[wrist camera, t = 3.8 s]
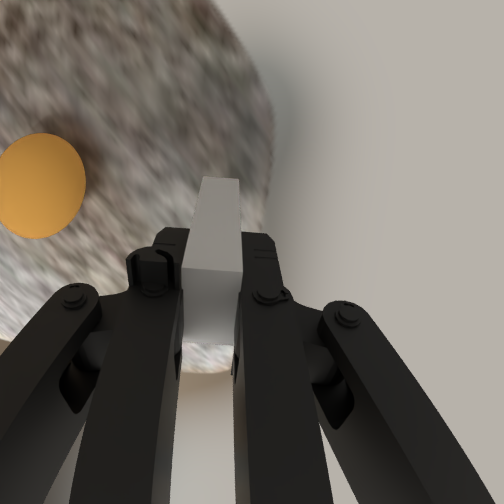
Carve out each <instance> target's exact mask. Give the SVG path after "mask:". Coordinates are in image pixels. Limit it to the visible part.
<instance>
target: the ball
mask: <svg viewBox="0 0 504 504" xmlns="http://www.w3.org/2000/svg"><path fill="white" fill-rule="evenodd" d="M85 187H86V177H85V170H84V166H83V163H82V161H81V158H80V156H79V155H78V153H77V152H76V150H75V149H74V148H73V147H72V146H71V145H70V144H69V143H68V142H67V141H65V140H64V139H62V138H60V137H58V136H56V135H53V134H47V133H36V134H30V135H27V136H25V137H22V138H20V139H19V140H17V141H15V142H14V143H13V144H11V145H10V146H9V147H8V148H7V149H6V150H5V151H4V153H3V154H2V155H1V157H0V221H1V222H2V224H3V225H4V226H5V227H6V228H7V229H9V230H10V231H11V232H13V233H14V234H17V235H19V236H21V237H25V238H31V239H39V238H45V237H49V236H51V235H54V234H56V233H58V232H59V231H61V230H62V229H63V228H65V227H66V226H67V225H68V224H69V223H70V222H71V221H72V220H73V218H74V217H75V215H76V214H77V212H78V211H79V209H80V206H81V204H82V201H83V198H84V194H85Z"/></svg>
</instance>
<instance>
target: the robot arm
mask: <svg viewBox="0 0 504 504" xmlns="http://www.w3.org/2000/svg"><path fill="white" fill-rule="evenodd" d="M126 266H127V274H128V282H129V288H128V290H127V291H125V292H122V293H118V294H113V295H106V296H99V294H98V292H97V291H96V289H95V288H94V287H92V286H91V285H89V284H85V283H73V284H69V285H66V286H64V287H62V288H60V289H59V290H58V291H57V292H55V293H54V294H53V295H52V297H51V298H50V299H49V300H48V301H47V302H46V303H45V304H44V305H43V306H42V307H41V309H40V310H39V311H38V312H37V313H36V314H35V315H34V316H33V318H32V319H31V320H30V321H29V322H28V323H27V324H26V326H25V327H24V328H23V329H22V330H21V331H20V333H19V334H18V335H17V336H16V337H15V338H14V340H13V341H12V342H11V343H10V345H9V346H8V347H7V348H6V349H5V351H4V352H3V353H2V355H1V356H0V504H43V503H44V500H45V498H46V496H47V494H48V492H49V490H50V488H51V486H52V484H53V482H54V480H55V478H56V476H57V474H58V472H59V470H60V468H61V466H62V464H63V462H64V461H65V459H66V457H67V455H68V453H69V451H70V449H71V447H72V445H73V444H74V442H75V440H76V438H77V436H78V434H79V432H80V431H81V429H82V427H83V425H84V423H85V422H86V424H85V428H84V432H83V436H82V440H81V444H80V449H79V453H78V458H77V463H76V468H75V473H74V478H73V483H72V488H71V494H70V500H69V504H169V503H170V486H171V469H172V456H173V455H172V454H173V443H174V431H175V420H176V408H177V399H178V390H179V380H180V371H181V363H182V339H183V342H188V343H201V344H215V345H232V346H234V354H233V361H232V369H231V375H233V417H234V460H235V493H236V504H334V503H333V497H332V491H331V485H330V480H329V474H328V468H327V463H326V457H325V452H324V446H323V441H322V436H321V430H320V425H321V427H322V429H323V431H324V434H325V436H326V438H327V440H328V442H329V444H330V446H331V448H332V450H333V452H334V454H335V456H336V458H337V460H338V462H339V464H340V466H341V469H342V470H343V473H344V475H345V477H346V479H347V481H348V483H349V485H350V487H351V489H352V491H353V493H354V495H355V497H356V499H357V501H358V503H359V504H495V502H494V500H493V499H492V497H491V495H490V494H489V492H488V490H487V489H486V487H485V485H484V483H483V482H482V480H481V479H480V477H479V475H478V473H477V472H476V470H475V468H474V467H473V465H472V464H471V462H470V460H469V459H468V457H467V455H466V454H465V453H464V451H463V449H462V448H461V446H460V445H459V443H458V441H457V440H456V438H455V437H454V435H453V434H452V432H451V431H450V429H449V428H448V426H447V425H446V423H445V422H444V420H443V418H442V417H441V415H440V414H439V412H438V411H437V409H436V408H435V406H434V405H433V403H432V402H431V400H430V399H429V398H428V396H427V395H426V393H425V392H424V391H423V389H422V387H421V386H420V384H419V383H418V382H417V380H416V379H415V377H414V376H413V375H412V373H411V372H410V370H409V369H408V367H407V366H406V365H405V363H404V362H403V360H402V359H401V358H400V356H399V355H398V353H397V352H396V351H395V349H394V348H393V346H392V345H391V344H390V342H389V341H388V340H387V338H386V337H385V336H384V334H383V333H382V332H381V330H380V329H379V327H378V326H377V325H376V323H375V322H374V321H373V319H372V318H371V317H370V315H369V314H368V313H367V312H366V311H365V310H364V309H363V308H362V307H360V306H358V305H356V304H354V303H351V302H347V301H334V302H330V303H328V304H327V305H326V306H325V307H324V309H323V311H320V310H317V309H313V308H309V307H306V306H303V305H301V304H299V303H297V302H295V301H294V300H293V297H292V295H291V293H290V291H289V290H288V289H286V288H285V287H284V286H283V281H282V276H281V271H280V267H279V261H278V257H277V253H276V247H275V242H274V241H273V240H272V239H271V238H270V237H269V236H268V235H267V234H264V233H252V232H241V217H240V194H239V179H234V178H222V177H209V176H203V179H202V183H201V187H200V191H199V195H198V199H197V203H196V207H195V211H194V215H193V219H192V223H191V228H190V229H186V228H172V227H165V228H164V229H163V230H161V231H160V232H159V233H158V234H157V235H156V237H155V240H154V243H153V245H152V247H144V248H140V249H137V250H135V251H134V252H132V253H130V254H129V256H128V257H127V258H126ZM319 423H320V425H319Z"/></svg>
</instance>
